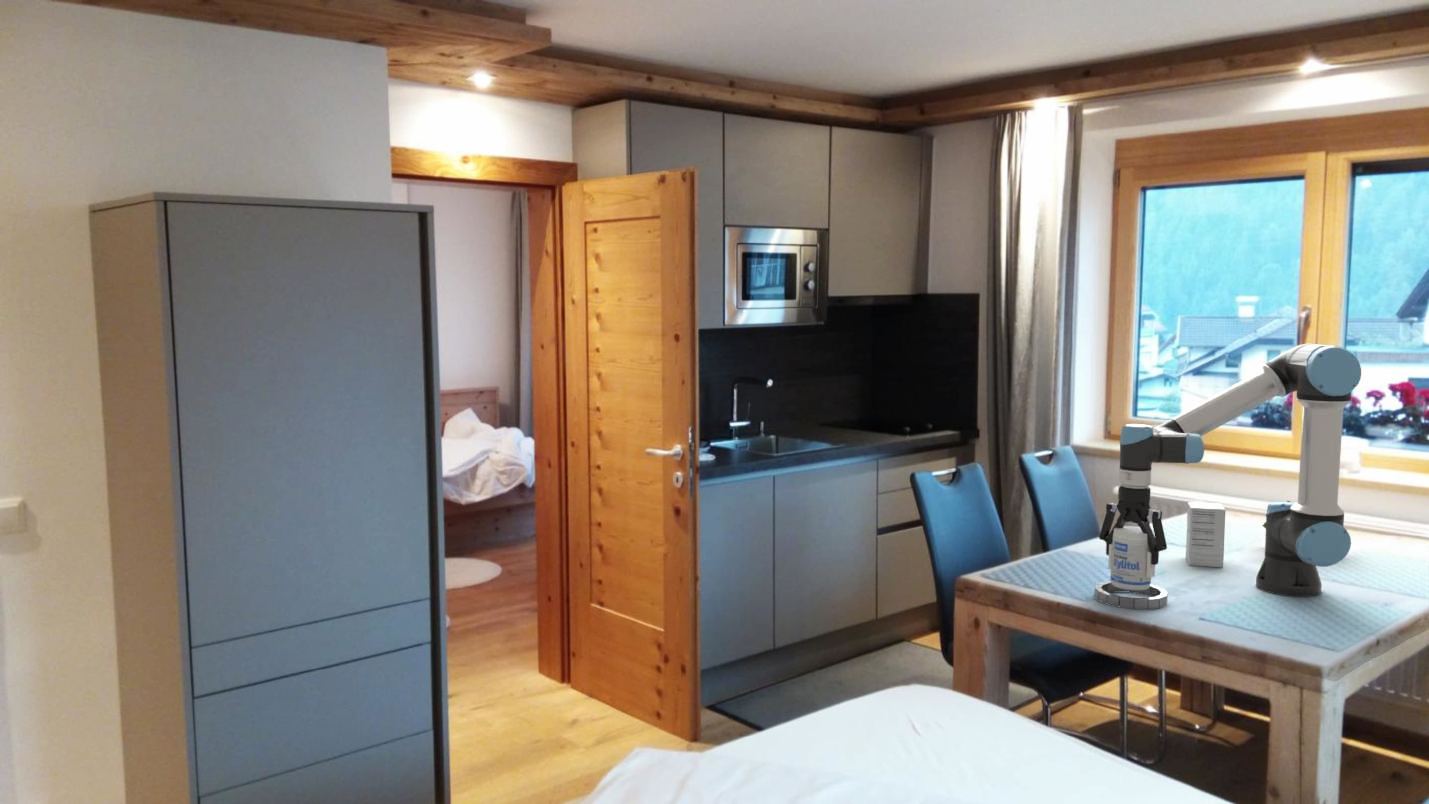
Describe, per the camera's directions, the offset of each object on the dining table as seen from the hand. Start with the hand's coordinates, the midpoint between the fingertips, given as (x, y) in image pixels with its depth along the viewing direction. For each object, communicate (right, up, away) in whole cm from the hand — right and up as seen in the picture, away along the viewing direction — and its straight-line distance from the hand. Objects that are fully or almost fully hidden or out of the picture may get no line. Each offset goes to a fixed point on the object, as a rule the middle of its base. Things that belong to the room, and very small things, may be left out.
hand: (1131, 572), depth 267 cm
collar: (0, -7, +1) cm, 7 cm away
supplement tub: (0, -4, 0) cm, 4 cm away
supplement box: (+35, -3, +36) cm, 51 cm away
